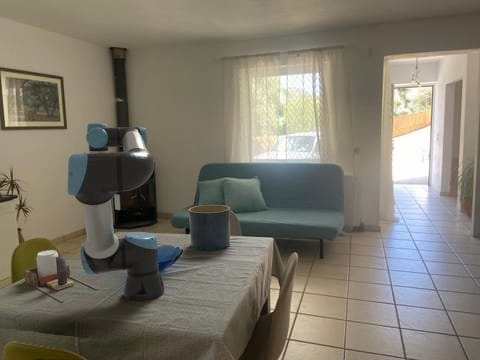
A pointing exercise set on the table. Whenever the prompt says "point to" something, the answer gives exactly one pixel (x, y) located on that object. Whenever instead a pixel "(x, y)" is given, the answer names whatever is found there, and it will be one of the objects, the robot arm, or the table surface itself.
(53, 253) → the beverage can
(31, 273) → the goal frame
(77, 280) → the pitch lines
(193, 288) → the table surface
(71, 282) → the rod slider
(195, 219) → the planter
